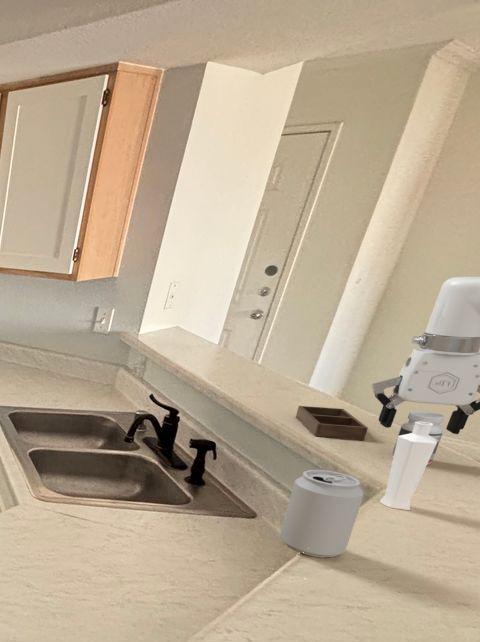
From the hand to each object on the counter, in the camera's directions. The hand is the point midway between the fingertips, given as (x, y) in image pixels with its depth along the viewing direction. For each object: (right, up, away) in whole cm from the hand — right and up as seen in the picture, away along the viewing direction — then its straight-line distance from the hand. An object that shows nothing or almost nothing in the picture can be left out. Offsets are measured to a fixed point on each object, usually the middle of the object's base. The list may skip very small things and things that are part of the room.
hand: (417, 428), depth 117 cm
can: (-47, -19, -27) cm, 58 cm away
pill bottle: (+1, -7, +2) cm, 7 cm away
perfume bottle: (-21, -14, -16) cm, 30 cm away
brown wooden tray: (+3, +1, +22) cm, 22 cm away
